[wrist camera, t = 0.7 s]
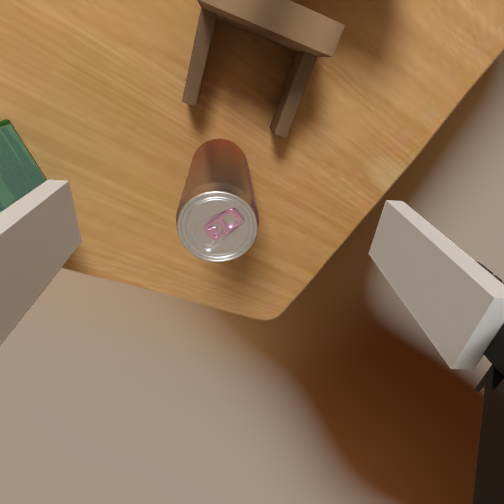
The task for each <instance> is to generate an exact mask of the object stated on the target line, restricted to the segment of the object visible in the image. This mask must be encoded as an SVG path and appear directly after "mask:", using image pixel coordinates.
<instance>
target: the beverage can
mask: <svg viewBox="0 0 504 504" xmlns="http://www.w3.org/2000/svg"><path fill="white" fill-rule="evenodd" d="M176 223H177V231H178V235H179V238H180V240H181V242H182V244H183V245H184V247H185V248H186V249H187V250H188V251H189V252H190V253H192V254H193V255H194V256H196V257H198V258H200V259H203V260H206V261H210V262H226V261H230V260H233V259H236V258H238V257H240V256H241V255H243V254H244V253H245V252H246V251H247V250H248V249H249V248H250V247H251V246H252V244H253V242H254V240H255V238H256V235H257V229H258V225H259V216H258V211H257V206H256V201H255V197H254V192H253V187H252V183H251V178H250V173H249V169H248V164H247V160H246V157H245V155H244V153H243V151H242V150H241V149H240V148H239V147H238V146H237V145H236V144H234V143H233V142H231V141H228V140H224V139H214V140H210V141H207V142H205V143H204V144H202V145H201V146H200V147H199V148H198V149H197V151H196V152H195V154H194V156H193V159H192V163H191V166H190V169H189V173H188V176H187V179H186V183H185V186H184V189H183V193H182V196H181V199H180V203H179V206H178V210H177V214H176Z"/></svg>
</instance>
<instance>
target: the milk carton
mask: <svg viewBox="0 0 504 504" xmlns="http://www.w3.org/2000/svg"><path fill="white" fill-rule="evenodd" d="M45 181H47V180H46V179H45V177H44V175H43V174H42V172H41V171H40V169H39V168H38V166H37V164H36V163H35V161H34V160H33V158H32V156H31V155H30V153H29V152H28V150H27V149H26V147H25V145H24V144H23V142H22V141H21V139H20V137H19V136H18V134H17V133H16V131H15V129H14V128H13V126H12V125H11V123H10V122H9V120H3V121H0V212H2V211H3V210H5V209H6V208H8V207H9V206H11V205H12V204H13V203H15V202H16V201H18V200H19V199H21V198H22V197H24V196H25V195H27V194H28V193H29V192H31V191H32V190H34V189H35V188H37V187H38V186H40V185H41V184H43V183H44V182H45Z"/></svg>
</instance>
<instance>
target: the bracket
mask: <svg viewBox="0 0 504 504" xmlns="http://www.w3.org/2000/svg"><path fill="white" fill-rule="evenodd" d="M198 2H199V4H200V6H201V13H200V17H199V22H198V27H197V32H196V36H195V41H194V46H193V51H192V55H191V60H190V65H189V70H188V75H187V79H186V84H185V89H184V94H183V98H182V102H184V103H187V104H190V105H192V106H196V104H197V102H198V99H199V95H200V90H201V86H202V82H203V78H204V73H205V69H206V65H207V60H208V56H209V52H210V48H211V43H212V39H213V35H214V30H215V26H216V22H217V18H218V19H220V20H222V21H225V22H227V23H230V24H232V25H234V26H237V27H239V28H242V29H244V30H246V31H249V32H251V33H253V34H256V35H258V36H261V37H263V38H265V39H268V40H270V41H273V42H275V43H277V44H280V45H282V46H284V47H287V48H289V49H292V50H294V51H296V54H295V57H294V60H293V63H292V65H291V68H290V71H289V74H288V77H287V80H286V83H285V86H284V88H283V91H282V94H281V97H280V100H279V103H278V106H277V108H276V111H275V114H274V117H273V120H272V123H271V126H270V128H271V129H272V131H273V132H274V134H276V135H279V136H281V137H284V138H287V135H288V132H289V130H290V127H291V125H292V122H293V119H294V117H295V114H296V111H297V109H298V106H299V103H300V101H301V98H302V95H303V93H304V90H305V88H306V85H307V82H308V80H309V77H310V74H311V72H312V69H313V66H314V64H315V61H316V59H317V57H333V55H334V52H335V50H336V47H337V45H338V42H339V40H340V37H341V35H342V32H343V30H344V27H345V25H343V24H341V23H339V22H337V21H335V20H333V19H330V18H328V17H326V16H324V15H322V14H319V13H317V12H315V11H313V10H311V9H308V8H306V7H304V6H302V5H300V4H298V3H295V2H293V1H291V0H198Z"/></svg>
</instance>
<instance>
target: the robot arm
mask: <svg viewBox="0 0 504 504" xmlns="http://www.w3.org/2000/svg"><path fill="white" fill-rule="evenodd" d="M81 242H82V241H81V236H80V231H79V227H78V222H77V217H76V212H75V208H74V203H73V198H72V194H71V189H70V184H69V181H63V180H47V181H45V182H44V183H43V184H41V185H40V186H38V187H37V188H35V189H34V190H32V191H31V192H29V193H28V194H27V195H25V196H24V197H22V198H21V199H19V200H18V201H16V202H15V203H13V204H12V205H11V206H9V207H8V208H6V209H5V210H3V211H2V212H0V345H1V344H2V343H3V341H4V340H5V339H6V338H7V336H8V335H9V334H10V333H11V331H12V330H13V329H14V328H15V326H16V325H17V323H18V322H19V321H20V320H21V319H22V317H23V316H24V314H25V313H26V312H27V311H28V310H29V308H30V307H31V306H32V305H33V303H34V302H35V301H36V299H37V298H38V297H39V296H40V294H41V293H42V292H43V291H44V289H45V288H46V287H47V285H48V284H49V283H50V282H51V280H52V279H53V278H54V276H55V275H56V274H57V273H58V271H59V270H60V269H61V268H62V266H63V265H64V264H65V263H66V261H67V260H68V259H69V257H70V256H71V255H72V254H73V252H74V251H75V250H76V248H77V247H78V246H79V245H80V243H81ZM369 255H370V257H371V258H372V259H373V261H374V262H375V264H376V265H377V266H378V268H379V269H380V271H381V272H382V273H383V275H384V276H385V278H386V279H387V280H388V282H389V283H390V284H391V286H392V287H393V289H394V290H395V292H396V293H397V294H398V296H399V297H400V299H401V300H402V301H403V303H404V304H405V305H406V307H407V308H408V310H409V311H410V312H411V314H412V315H413V317H414V318H415V319H416V321H417V322H418V323H419V325H420V326H421V328H422V329H423V330H424V332H425V333H426V335H427V336H428V337H429V339H430V340H431V342H432V343H433V344H434V346H435V347H436V349H437V350H438V352H439V353H440V354H441V356H442V357H443V358H444V360H445V361H446V363H447V364H448V365H449V367H450V368H451V369H474V368H475V367H476V366H477V364H478V363H479V361H480V360H481V358H482V357H483V355H485V356H486V357H487V358H488V360H489V361H490V362H491V363H492V366H491V367H490V368H489V370H488V371H487V373H486V374H485V375H484V377H483V378H482V380H481V381H480V383H479V384H478V385H477V387H476V389H475V390H476V391H478V392H479V391H480V390H481V389H482V388H485V391H484V400H483V410H482V419H481V428H480V438H479V448H478V457H477V467H476V475H475V485H474V494H473V504H504V283H502V280H501V279H499V278H498V277H497V276H495V275H493V273H492V272H491V271H490V270H488V269H487V268H486V267H485V266H483V265H482V264H480V263H479V262H477V261H475V260H473V259H472V258H471V257H470V256H469V255H467V254H466V253H465V252H464V251H462V250H461V249H460V248H459V247H458V246H456V245H455V244H454V243H453V242H452V241H450V240H449V239H448V238H447V237H446V236H444V235H443V234H442V233H441V232H439V231H438V230H437V229H436V228H435V227H433V226H432V225H431V224H430V223H428V222H427V221H426V220H425V219H424V218H422V217H421V216H420V215H419V214H418V213H416V212H415V211H414V210H413V209H412V208H410V207H409V206H408V205H407V204H406V203H404V202H403V201H392V200H386V202H385V205H384V208H383V211H382V214H381V217H380V221H379V224H378V227H377V230H376V233H375V236H374V239H373V242H372V245H371V248H370V252H369Z"/></svg>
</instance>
